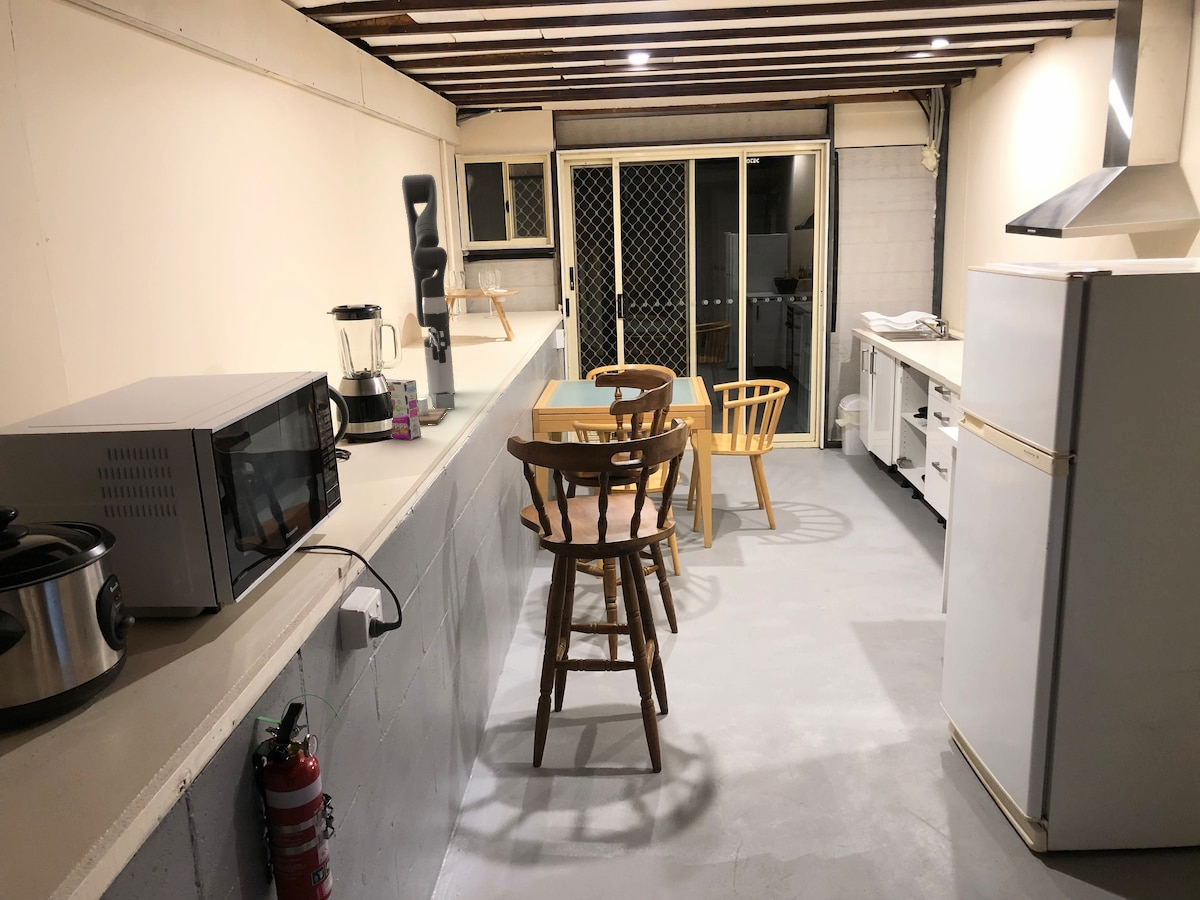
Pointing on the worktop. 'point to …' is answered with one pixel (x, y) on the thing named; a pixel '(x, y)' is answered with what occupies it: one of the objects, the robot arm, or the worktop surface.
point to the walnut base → (432, 416)
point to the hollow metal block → (443, 400)
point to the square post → (422, 406)
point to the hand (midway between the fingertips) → (439, 361)
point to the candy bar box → (404, 409)
